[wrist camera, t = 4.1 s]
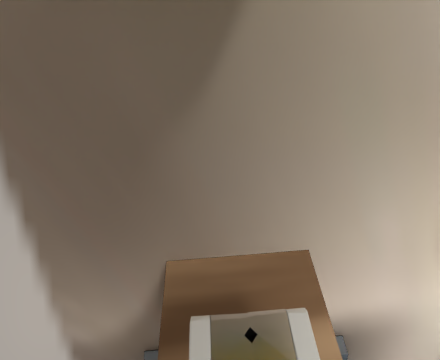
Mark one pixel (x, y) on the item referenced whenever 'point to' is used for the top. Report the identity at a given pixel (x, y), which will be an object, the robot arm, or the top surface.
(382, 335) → the top surface
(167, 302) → the wooden block
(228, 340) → the robot arm
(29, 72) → the top surface
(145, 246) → the top surface
